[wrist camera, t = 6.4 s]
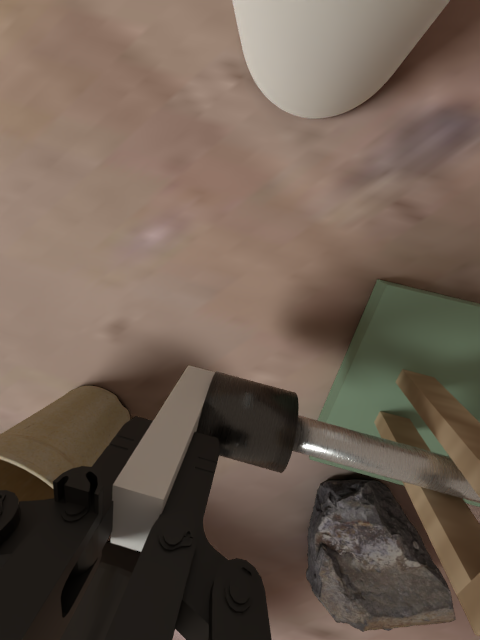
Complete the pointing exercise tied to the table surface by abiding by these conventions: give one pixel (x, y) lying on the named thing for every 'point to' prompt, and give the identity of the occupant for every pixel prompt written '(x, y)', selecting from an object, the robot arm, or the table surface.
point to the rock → (372, 560)
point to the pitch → (405, 361)
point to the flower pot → (58, 441)
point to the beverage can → (328, 48)
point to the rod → (312, 438)
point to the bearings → (436, 507)
